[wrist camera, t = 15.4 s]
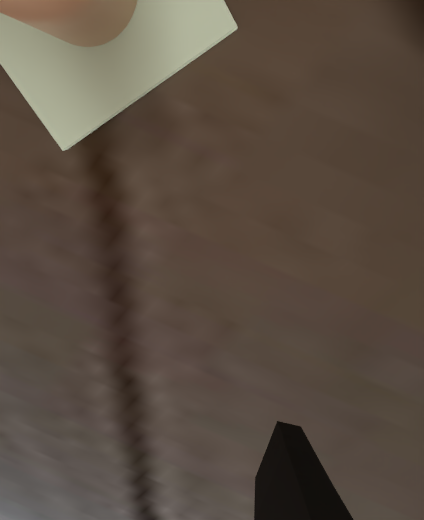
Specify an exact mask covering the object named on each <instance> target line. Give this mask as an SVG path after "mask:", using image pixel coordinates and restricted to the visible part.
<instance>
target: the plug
mask: <svg viewBox="0 0 424 520" xmlns="http://www.w3.org/2000/svg"><path fill="white" fill-rule="evenodd" d="M136 4H137V0H0V13H3V14H5V15H7V16H9V17H12V18H14V19H16V20H18V21H21V22H23V23H25V24H27V25H30V26H32V27H34V28H36V29H38V30H41V31H43V32H45V33H47V34H50V35H52V36H54V37H56V38H59V39H61V40H63V41H65V42H68V43H70V44H73V45H76V46H82V47H93V46H99V45H102V44H105V43H107V42H109V41H111V40H113V39H114V38H116V37H117V36H118V35H119V34H120V33H121V32H122V31H123V30H124V29H125V28H126V26H127V25H128V23H129V22H130V20H131V18H132V16H133V13H134V11H135V8H136Z"/></svg>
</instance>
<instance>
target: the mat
mask: <svg viewBox="0 0 424 520" xmlns="http://www.w3.org/2000/svg"><path fill="white" fill-rule="evenodd" d="M235 30H237V25H236V23H235V21H234V19H233V17H232V15H231V13H230V11H229V9H228V7H227V6H226V4H225V2H224V0H137V4H136V8H135V11H134V13H133V16H132V18H131V20H130V22H129V23H128V25H127V26H126V28H125V29H124V30H123V31H122V32H121V33H120V34H119V35H118V36H117V37H116V38H114V39H113V40H111V41H109V42H107V43H105V44H102V45H99V46H93V47H82V46H76V45H73V44H70V43H68V42H65V41H63V40H61V39H59V38H56V37H54V36H52V35H50V34H47V33H45V32H43V31H41V30H38V29H36V28H34V27H32V26H30V25H27V24H25V23H23V22H21V21H18V20H16V19H14V18H12V17H9V16H7V15H5V14H3V13H0V64H1V65H2V67H3V68H4V70H5V71H6V72H7V74H8V75H9V77H10V78H11V79H12V81H13V82H14V83H15V85H16V86H17V88H18V89H19V90H20V92H21V93H22V95H23V96H24V97H25V99H26V100H27V102H28V103H29V104H30V106H31V107H32V109H33V110H34V111H35V113H36V114H37V116H38V117H39V118H40V120H41V121H42V123H43V124H44V125H45V127H46V128H47V129H48V131H49V132H50V134H51V135H52V136H53V138H54V139H55V141H56V142H57V143H58V145H59V146H60V148H61V149H62V150H63V151H64V150H67V149H69V148H70V147H72V146H73V145H74V144H76V143H77V142H79V141H80V140H81V139H83V138H84V137H86V136H87V135H89V134H90V133H91V132H93V131H94V130H96V129H97V128H98V127H100V126H101V125H103V124H104V123H105V122H107V121H108V120H110V119H111V118H113V117H114V116H115V115H117V114H118V113H120V112H121V111H122V110H124V109H125V108H127V107H128V106H129V105H131V104H132V103H134V102H135V101H137V100H138V99H139V98H141V97H142V96H144V95H145V94H146V93H148V92H149V91H151V90H152V89H154V88H155V87H156V86H158V85H159V84H161V83H162V82H163V81H165V80H166V79H168V78H169V77H170V76H172V75H173V74H175V73H176V72H178V71H179V70H180V69H182V68H183V67H185V66H186V65H187V64H189V63H190V62H192V61H193V60H194V59H196V58H197V57H199V56H200V55H202V54H203V53H204V52H206V51H207V50H209V49H210V48H211V47H213V46H214V45H216V44H217V43H218V42H220V41H221V40H223V39H224V38H226V37H227V36H228V35H230V34H231V33H233V32H234V31H235Z"/></svg>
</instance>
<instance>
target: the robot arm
mask: <svg viewBox="0 0 424 520" xmlns="http://www.w3.org/2000/svg"><path fill="white" fill-rule="evenodd" d="M254 520H353V518H352V516H351V515H350V513H349V511H348V510H347V508H346V506H345V505H344V503H343V501H342V500H341V498H340V496H339V495H338V493H337V491H336V489H335V488H334V486H333V484H332V482H331V481H330V479H329V477H328V475H327V473H326V472H325V470H324V468H323V466H322V464H321V463H320V461H319V459H318V457H317V455H316V453H315V452H314V450H313V448H312V446H311V444H310V442H309V441H308V439H307V437H306V435H305V433H304V432H303V430H302V428H301V427H300V426H296V425H292V424H287V423H283V422H279V421H277V424H276V426H275V429H274V431H273V434H272V436H271V439H270V442H269V444H268V447H267V449H266V452H265V454H264V457H263V460H262V462H261V465H260V467H259V470H258V472H257V475H256V477H255V514H254Z"/></svg>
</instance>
